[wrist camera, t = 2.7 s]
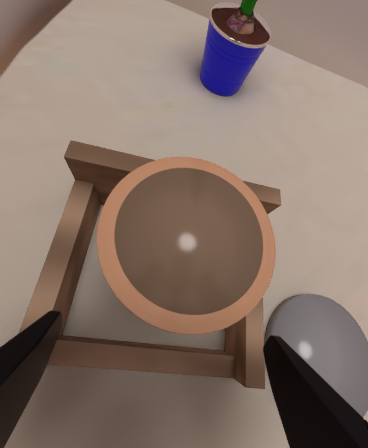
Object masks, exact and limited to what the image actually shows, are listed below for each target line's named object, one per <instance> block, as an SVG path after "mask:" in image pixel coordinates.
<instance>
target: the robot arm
mask: <svg viewBox="0 0 368 448" xmlns="http://www.w3.org/2000/svg"><path fill="white" fill-rule="evenodd" d="M61 329H62V312H61V311H54V310H51V311H49V312H47V313H46V314H44V315H43V316H42V317H40V318H39V319H38V320H36V321H35V322H34V323H32V324H31V325H30V326H28V327H27V328H26V329H24V330H23V331H22V332H20V333H19V334H18V335H16V336H15V337H14V338H12V339H11V340H9V341H8V342H7V343H5V344H4V345H3V346H1V347H0V448H4V447H5V445H6V443H7V441H8V439H9V437H10V435H11V433H12V432H13V430H14V428H15V426H16V424H17V422H18V420H19V418H20V417H21V415H22V413H23V411H24V409H25V407H26V405H27V403H28V402H29V400H30V398H31V396H32V394H33V392H34V390H35V388H36V387H37V385H38V383H39V381H40V379H41V377H42V375H43V373H44V370H45V368H46V366H47V363H48V361H49V358H50V356H51V354H52V351H53V349H54V346H55V344H56V342H57V339H58V337H59V334H60V332H61ZM263 354H264V358H265V362H266V367H267V371H268V376H269V380H270V385H271V388H272V392H273V396H274V399H275V402H276V405H277V408H278V411H279V415H280V418H281V421H282V424H283V427H284V430H285V434H286V437H287V440H288V443H289V446H290V448H368V422H367V421H366V420H364V419H363V417H362V416H361V415H360V414H359V413H358V412H357V411H356V410H355V409H354V408H353V407H352V406H351V405H350V404H349V403H348V402H347V401H346V400H345V399H343V398H342V397H341V396H340V395H339V394H338V393H337V392H336V391H335V390H334V389H333V388H332V387H331V386H330V385H329V384H328V383H327V382H326V381H325V380H324V379H323V378H322V377H321V376H320V375H319V374H318V373H317V372H316V371H315V370H314V369H313V368H312V367H311V366H310V365H309V364H308V363H307V362H306V361H305V360H304V359H303V358H302V357H301V356H300V355H299V354H298V353H296V352H295V351H294V350H293V349H292V348H291V347H290V346H289V345H288V344H287V343H286V342H285V341H284V340H283V339H282V338H281V337H280V336H276V335H270V336H269V338H268V339H267V341H266V343H265V344H264V346H263Z"/></svg>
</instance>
